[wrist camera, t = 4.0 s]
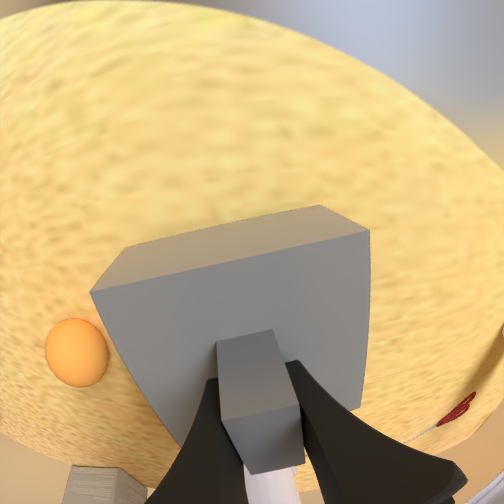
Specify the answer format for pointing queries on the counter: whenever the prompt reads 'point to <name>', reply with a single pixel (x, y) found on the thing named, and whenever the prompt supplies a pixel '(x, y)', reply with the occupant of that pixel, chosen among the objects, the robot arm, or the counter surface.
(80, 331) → the ball
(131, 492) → the skincare box
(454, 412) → the scissors
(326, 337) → the grey stemmed block
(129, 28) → the counter surface
